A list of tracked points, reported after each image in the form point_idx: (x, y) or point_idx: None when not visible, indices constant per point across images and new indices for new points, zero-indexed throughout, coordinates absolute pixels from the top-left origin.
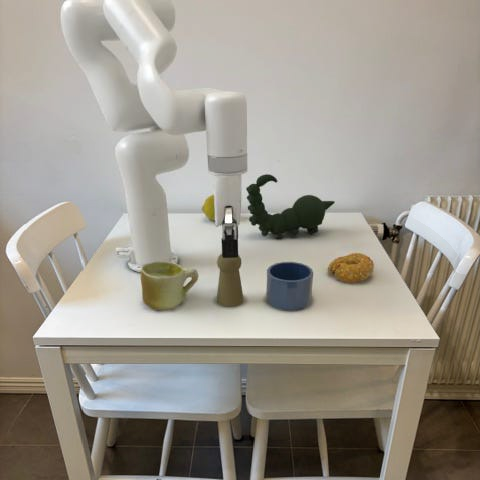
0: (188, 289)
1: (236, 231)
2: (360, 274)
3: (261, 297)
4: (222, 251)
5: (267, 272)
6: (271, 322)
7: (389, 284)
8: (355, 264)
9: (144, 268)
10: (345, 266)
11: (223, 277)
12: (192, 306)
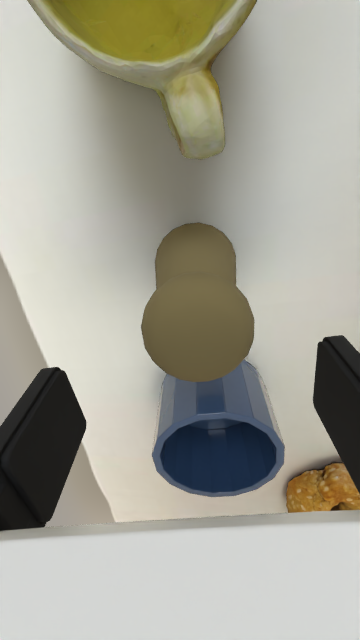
0: (166, 114)
1: (333, 440)
2: None
3: None
4: (28, 392)
5: (205, 414)
6: (105, 366)
7: None
8: None
9: None
10: (315, 509)
11: (161, 285)
12: (138, 144)
